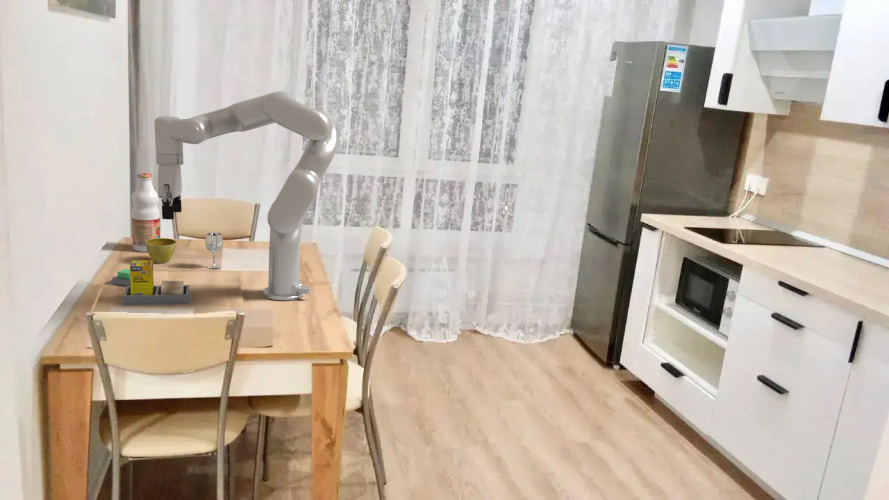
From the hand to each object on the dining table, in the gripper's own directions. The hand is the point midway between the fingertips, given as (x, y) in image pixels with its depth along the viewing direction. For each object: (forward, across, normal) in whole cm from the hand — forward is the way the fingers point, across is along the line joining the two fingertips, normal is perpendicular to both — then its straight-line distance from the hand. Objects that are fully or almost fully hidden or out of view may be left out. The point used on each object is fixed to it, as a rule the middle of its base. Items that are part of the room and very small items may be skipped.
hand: (172, 215), depth 208 cm
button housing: (+24, -3, -15) cm, 28 cm away
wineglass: (+24, -26, +7) cm, 36 cm away
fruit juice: (+24, -45, -20) cm, 55 cm away
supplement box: (+23, +12, -6) cm, 26 cm away
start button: (+21, -3, -15) cm, 26 cm away
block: (+23, +10, +2) cm, 25 cm away
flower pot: (+24, -30, -12) cm, 40 cm away
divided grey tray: (+24, +11, -3) cm, 26 cm away
